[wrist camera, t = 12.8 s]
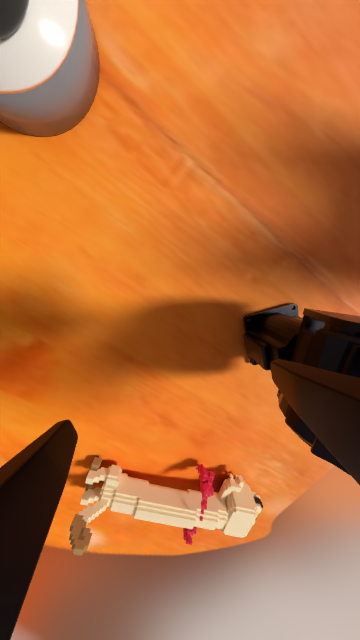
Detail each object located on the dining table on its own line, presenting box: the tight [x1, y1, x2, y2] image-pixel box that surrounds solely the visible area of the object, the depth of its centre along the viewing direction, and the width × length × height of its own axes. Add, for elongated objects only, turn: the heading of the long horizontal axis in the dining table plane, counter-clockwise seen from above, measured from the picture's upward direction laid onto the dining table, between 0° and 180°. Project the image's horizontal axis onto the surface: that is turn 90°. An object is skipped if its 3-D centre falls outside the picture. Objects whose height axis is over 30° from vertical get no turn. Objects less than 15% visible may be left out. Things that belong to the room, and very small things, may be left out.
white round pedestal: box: [0, 0, 100, 137], centre depth 12 cm, size 11×11×4 cm
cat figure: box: [69, 457, 263, 556], centre depth 23 cm, size 10×9×25 cm
